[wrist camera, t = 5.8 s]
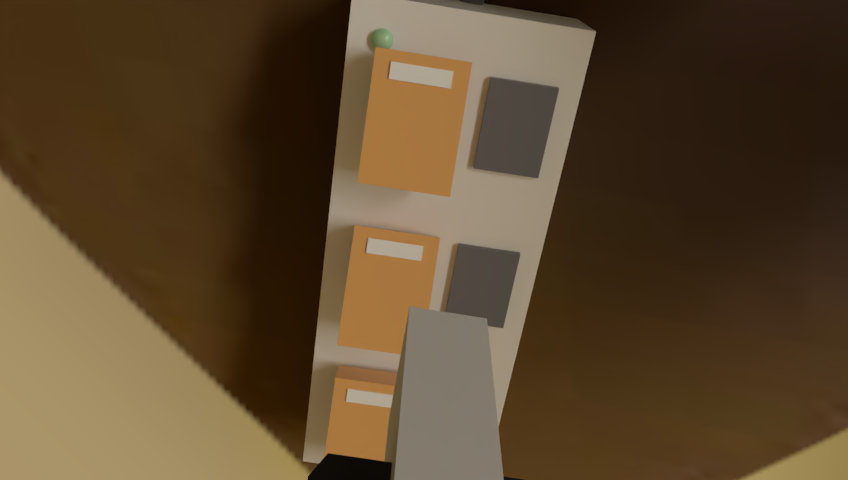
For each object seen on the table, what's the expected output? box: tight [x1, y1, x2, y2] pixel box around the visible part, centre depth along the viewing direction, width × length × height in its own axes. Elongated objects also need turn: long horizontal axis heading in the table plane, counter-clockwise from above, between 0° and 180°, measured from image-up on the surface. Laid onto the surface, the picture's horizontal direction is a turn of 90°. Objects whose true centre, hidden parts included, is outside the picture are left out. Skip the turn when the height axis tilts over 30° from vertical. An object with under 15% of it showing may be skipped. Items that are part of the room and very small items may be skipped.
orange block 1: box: [357, 47, 472, 197], centre depth 25 cm, size 5×3×2 cm
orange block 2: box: [337, 225, 440, 354], centre depth 28 cm, size 5×3×2 cm
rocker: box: [324, 365, 397, 461], centre depth 31 cm, size 5×3×2 cm
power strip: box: [303, 0, 596, 463], centre depth 30 cm, size 28×9×5 cm, turn 171°
